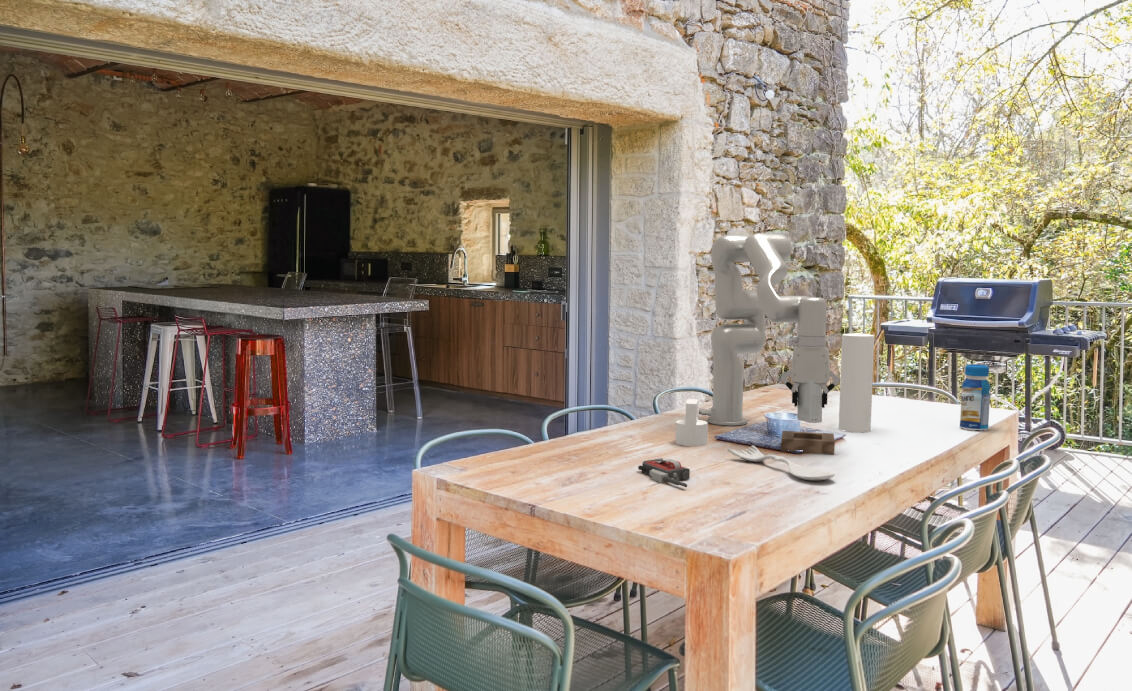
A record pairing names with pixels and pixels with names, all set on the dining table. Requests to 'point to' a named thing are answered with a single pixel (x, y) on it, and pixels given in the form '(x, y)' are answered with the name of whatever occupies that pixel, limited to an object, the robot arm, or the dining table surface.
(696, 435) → the cylinder with rectangular tab
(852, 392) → the tall grey rectangular pillar
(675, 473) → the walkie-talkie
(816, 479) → the beige plastic utensil
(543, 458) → the dining table surface
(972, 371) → the beverage bottle
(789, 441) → the socket block
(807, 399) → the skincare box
